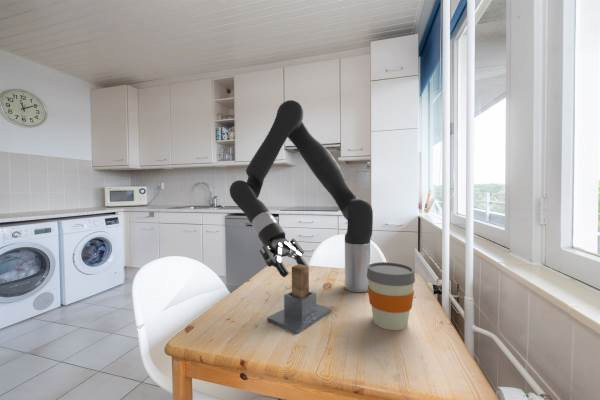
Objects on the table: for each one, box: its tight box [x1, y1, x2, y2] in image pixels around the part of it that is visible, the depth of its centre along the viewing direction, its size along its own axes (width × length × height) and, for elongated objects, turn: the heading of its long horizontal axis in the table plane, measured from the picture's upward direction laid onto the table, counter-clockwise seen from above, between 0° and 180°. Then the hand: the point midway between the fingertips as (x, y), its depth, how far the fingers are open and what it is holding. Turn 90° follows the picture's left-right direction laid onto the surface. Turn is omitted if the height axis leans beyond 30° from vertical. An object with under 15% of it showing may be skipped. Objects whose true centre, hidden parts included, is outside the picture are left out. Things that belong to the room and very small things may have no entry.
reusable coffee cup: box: [367, 261, 416, 331], centre depth 73 cm, size 12×13×15 cm
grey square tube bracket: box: [266, 290, 333, 335], centre depth 77 cm, size 16×11×6 cm
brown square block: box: [291, 264, 310, 299], centre depth 77 cm, size 4×4×12 cm
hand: (296, 271), depth 78 cm, fingers open, 8 cm apart
